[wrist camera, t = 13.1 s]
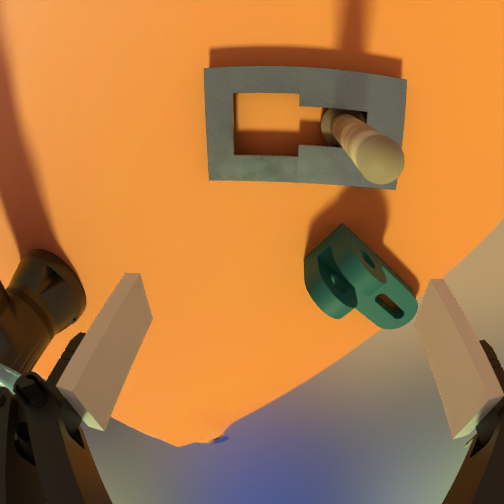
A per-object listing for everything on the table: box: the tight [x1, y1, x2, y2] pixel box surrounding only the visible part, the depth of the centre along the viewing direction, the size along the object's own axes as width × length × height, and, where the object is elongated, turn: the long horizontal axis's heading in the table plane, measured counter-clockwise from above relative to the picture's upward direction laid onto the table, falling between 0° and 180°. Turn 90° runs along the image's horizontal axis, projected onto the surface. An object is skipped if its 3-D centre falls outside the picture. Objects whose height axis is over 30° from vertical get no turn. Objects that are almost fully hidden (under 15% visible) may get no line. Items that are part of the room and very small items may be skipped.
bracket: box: [304, 223, 418, 329], centre depth 36 cm, size 18×7×8 cm, turn 52°
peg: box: [320, 108, 404, 184], centre depth 23 cm, size 5×5×15 cm
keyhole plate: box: [204, 66, 407, 190], centre depth 29 cm, size 20×12×2 cm, turn 91°
